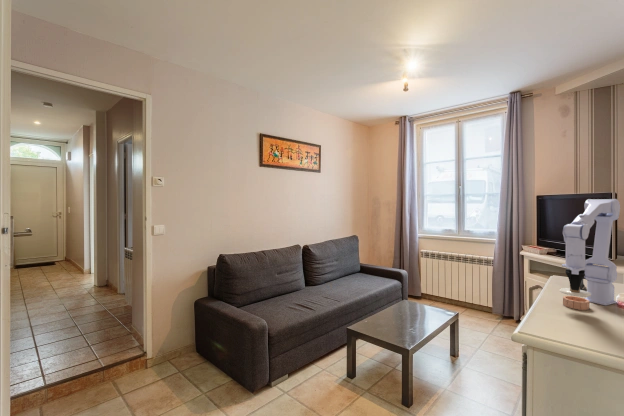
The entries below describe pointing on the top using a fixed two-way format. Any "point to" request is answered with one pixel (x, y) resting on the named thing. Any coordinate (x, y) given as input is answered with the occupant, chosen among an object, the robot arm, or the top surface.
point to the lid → (575, 292)
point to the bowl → (576, 302)
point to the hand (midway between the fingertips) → (574, 288)
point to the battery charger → (582, 285)
